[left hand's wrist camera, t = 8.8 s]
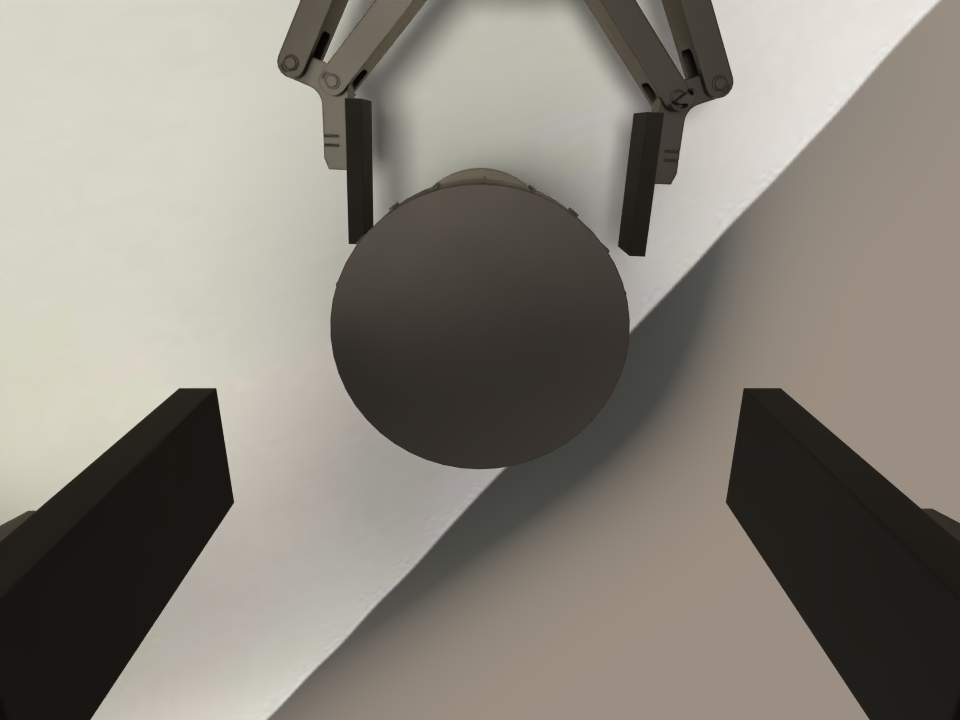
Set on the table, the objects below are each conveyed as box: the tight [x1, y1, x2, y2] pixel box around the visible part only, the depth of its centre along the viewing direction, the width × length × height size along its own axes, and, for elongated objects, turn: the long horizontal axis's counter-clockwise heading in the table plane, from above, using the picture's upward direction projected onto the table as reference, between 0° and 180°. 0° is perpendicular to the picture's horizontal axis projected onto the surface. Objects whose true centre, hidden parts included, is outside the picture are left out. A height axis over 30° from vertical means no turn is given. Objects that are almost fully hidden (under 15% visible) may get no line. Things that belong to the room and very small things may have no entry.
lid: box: [331, 176, 630, 469], centre depth 21 cm, size 10×10×2 cm
